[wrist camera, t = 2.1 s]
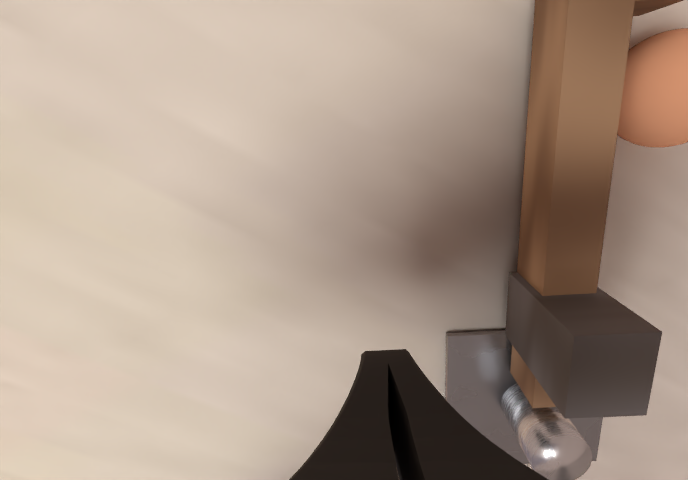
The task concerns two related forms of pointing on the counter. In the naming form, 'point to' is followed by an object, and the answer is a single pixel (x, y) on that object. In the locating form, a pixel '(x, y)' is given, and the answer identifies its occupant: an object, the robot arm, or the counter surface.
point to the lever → (575, 220)
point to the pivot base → (484, 388)
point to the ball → (656, 91)
